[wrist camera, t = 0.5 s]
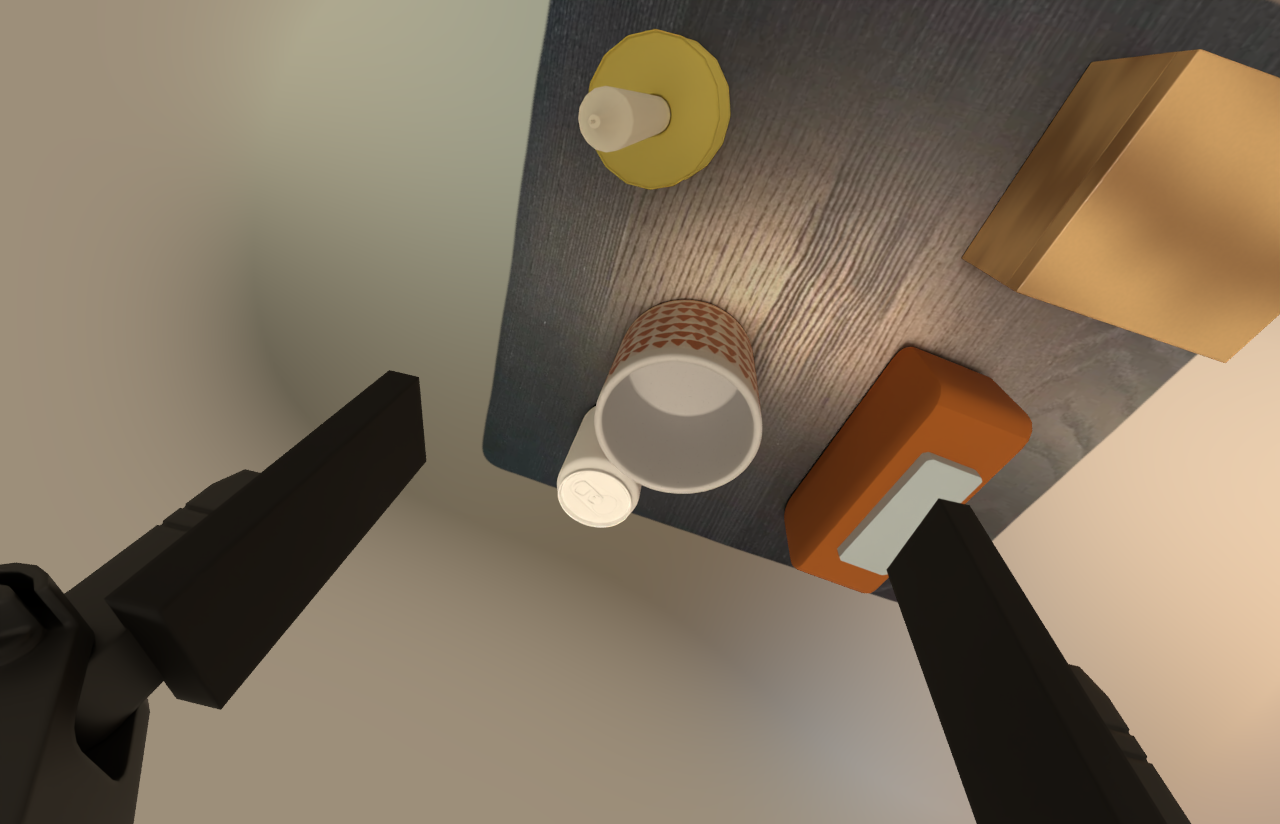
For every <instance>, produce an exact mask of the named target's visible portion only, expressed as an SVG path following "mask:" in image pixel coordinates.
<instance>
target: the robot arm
mask: <svg viewBox="0 0 1280 824" xmlns="http://www.w3.org/2000/svg"><path fill="white" fill-rule="evenodd" d="M425 462H426V452H425V441H424V429H423V419H422V407H421V395H420V384H419V377H416V376H412V375H407V374H403V373H399V372H395V371H390V370H389V371H388V372H387V373H385V374H384V375H383V376H381V377H380V378H379V379H378V380H377V381H375V382H374V383H373V384H372V385H370V386H369V387H368V388H366V389H365V390H364V391H363V392H361V393H360V394H359V395H358V396H357V397H355V398H354V399H353V400H352V401H350V402H349V403H348V404H346V405H345V406H344V407H343V408H342V409H340V410H339V411H338V412H337V413H335V414H334V415H333V416H331V417H330V418H329V419H328V420H326V421H325V422H324V423H323V424H321V425H320V426H319V427H318V428H317V429H315V430H314V431H313V432H311V433H310V434H309V435H308V436H307V437H305V438H304V439H303V440H301V441H300V442H299V443H298V444H297V445H295V446H294V447H293V448H292V449H290V450H289V451H288V452H286V453H285V454H284V455H283V456H282V457H280V458H279V459H278V460H276V461H275V462H274V463H273V464H272V465H270V466H269V467H268V468H266V469H265V470H264V471H263V472H262V473H258V472H254V471H249V470H242V471H240V472H238V473H236V474H234V475H231V476H229V477H227V478H225V479H222V480H220V481H218V482H216V483H213V484H212V485H210V486H209V487H208V488H206V489H205V490H204V491H202V492H201V493H200V494H198V495H197V496H196V497H194V498H193V499H192V500H190V501H189V502H187V503H186V506H185V507H184V508H183V509H182V508H179V509H178V510H177V511H175V512H174V513H173V514H172V515H170V516H169V517H167V518H166V519H165V520H164V521H163V524H162V525H160V526H159V525H157V526H155V527H154V528H153V529H151V530H150V531H149V532H147V533H146V534H145V535H143V536H142V537H141V538H139V539H138V540H137V541H135V542H134V543H132V544H131V545H130V546H129V547H127V548H126V549H124V550H123V551H122V552H120V553H119V554H118V555H116V556H115V557H114V558H112V559H111V560H110V561H108V562H107V563H106V564H104V565H103V566H102V567H100V568H99V569H98V570H96V571H95V572H94V573H92V574H91V575H89V576H88V577H87V578H85V579H84V580H83V581H81V582H80V583H79V584H77V585H76V586H75V587H73V588H72V589H71V590H69V591H68V592H66V593H65V594H64V593H63V592H62V591H61V590H60V588H59V587H58V586H57V585H56V583H55V582H54V581H53V580H52V578H51V577H50V576H49V575H48V574H47V573H46V572H45V571H44V570H42V569H41V568H39V567H38V566H37V565H30V564H22V563H10V564H2V565H0V824H133V823H134V816H135V809H136V802H137V795H138V788H139V781H140V774H141V768H142V761H143V755H144V748H145V741H146V734H147V727H148V720H149V713H150V710H149V703H148V699H147V697H148V696H149V695H150V694H151V693H152V692H153V691H154V690H155V689H156V688H157V687H158V686H159V685H160V684H161V683H162V682H163V681H164V682H165V683H166V685H167V686H168V688H169V689H170V690H171V691H172V693H173V694H174V696H175V697H176V698H177V699H180V700H184V701H188V702H192V703H196V704H200V705H204V706H208V707H212V708H217V709H222V708H223V706H224V705H225V704H226V703H227V702H228V700H229V699H230V698H231V697H232V696H233V694H234V693H235V692H236V690H237V689H238V688H239V687H240V686H241V685H242V683H243V682H244V681H245V680H246V679H247V677H248V676H249V675H250V674H251V673H252V671H253V670H254V669H255V668H256V666H257V665H258V664H259V663H260V662H261V661H262V659H263V658H264V657H265V656H266V654H267V653H268V652H269V651H270V650H271V648H272V647H273V646H274V645H275V644H276V642H277V641H278V640H279V639H280V637H281V636H282V635H283V634H284V633H285V631H286V630H287V629H288V628H289V627H290V625H291V624H292V623H293V622H294V621H295V619H296V618H297V617H298V616H299V614H300V613H301V612H302V611H303V610H304V608H305V607H306V606H307V605H308V604H309V602H310V601H311V600H312V599H313V598H314V596H315V595H316V594H317V593H318V592H319V590H320V589H321V588H322V587H323V586H324V584H325V583H326V582H327V581H328V579H329V578H330V577H331V576H332V575H333V573H334V572H335V571H336V570H337V569H338V567H339V566H340V565H341V564H342V562H343V561H344V560H345V559H346V558H347V556H348V555H349V554H350V553H351V552H352V550H353V549H354V548H355V547H356V545H357V544H358V543H359V542H360V540H362V538H363V537H364V536H365V535H366V534H367V532H368V531H369V530H370V529H371V527H372V526H373V525H374V524H375V523H376V521H377V520H378V519H379V518H380V516H381V515H382V514H383V513H384V512H385V511H386V509H387V508H388V507H389V506H390V504H391V503H392V502H393V501H394V500H395V498H396V497H397V496H398V495H399V494H400V492H401V491H402V490H403V489H404V487H405V486H406V485H407V484H408V483H409V481H410V480H411V479H412V478H413V476H414V475H415V474H416V473H417V472H418V471H419V469H420V468H421V467H422V466H423V465H424V463H425ZM887 573H888V576H889V579H890V582H891V584H892V587H893V590H894V593H895V596H896V598H897V601H898V604H899V607H900V609H901V612H902V615H903V618H904V621H905V624H906V626H907V629H908V632H909V635H910V638H911V640H912V643H913V646H914V649H915V651H916V655H917V657H918V660H919V663H920V666H921V669H922V671H923V674H924V677H925V680H926V682H927V685H928V688H929V691H930V694H931V697H932V699H933V702H934V705H935V708H936V711H937V713H938V716H939V719H940V722H941V725H942V727H943V730H944V733H945V736H946V739H947V741H948V744H949V747H950V750H951V753H952V756H953V758H954V761H955V764H956V766H957V770H958V772H959V775H960V778H961V781H962V784H963V786H964V789H965V792H966V795H967V798H968V800H969V803H970V806H971V809H972V812H973V814H974V817H975V820H976V823H977V824H1191V823H1190V821H1189V820H1188V818H1187V817H1186V815H1185V814H1184V812H1183V810H1182V809H1181V807H1180V806H1179V804H1178V803H1177V801H1176V800H1175V798H1174V797H1173V795H1172V794H1171V792H1170V791H1169V789H1168V788H1167V786H1166V785H1165V783H1164V781H1163V780H1162V778H1161V777H1160V775H1159V774H1158V772H1157V771H1156V769H1155V768H1154V766H1153V765H1152V764H1150V763H1148V762H1147V760H1146V758H1147V755H1146V754H1145V752H1144V751H1143V750H1142V748H1141V747H1140V745H1139V743H1138V742H1137V741H1136V739H1135V737H1134V736H1131V735H1130V734H1129V728H1128V727H1127V725H1126V723H1125V722H1124V720H1123V719H1122V717H1121V716H1120V714H1119V713H1118V711H1117V710H1116V708H1115V707H1114V705H1113V704H1112V702H1111V700H1110V699H1109V698H1108V696H1107V695H1106V694H1105V693H1104V692H1103V691H1102V690H1101V689H1100V688H1099V687H1098V686H1097V685H1096V684H1095V683H1094V682H1093V680H1092V679H1091V678H1090V677H1089V676H1088V675H1087V674H1086V673H1085V672H1084V671H1083V670H1082V669H1081V668H1080V667H1078V666H1074V665H1070V664H1068V663H1067V662H1066V660H1065V659H1064V657H1063V655H1062V653H1061V652H1060V650H1059V649H1058V647H1057V645H1056V644H1055V642H1054V640H1053V639H1052V638H1051V636H1050V634H1049V632H1048V631H1047V629H1046V628H1045V626H1044V624H1043V623H1042V621H1041V620H1040V618H1039V616H1038V615H1037V613H1036V612H1035V610H1034V609H1033V607H1032V605H1031V604H1030V602H1029V600H1028V599H1027V597H1026V596H1025V594H1024V592H1023V591H1022V589H1021V587H1020V586H1019V584H1018V583H1017V581H1016V579H1015V578H1014V576H1013V575H1012V573H1011V572H1010V570H1009V568H1008V567H1007V565H1006V563H1005V562H1004V560H1003V558H1002V557H1001V555H1000V554H999V552H998V550H997V549H996V547H995V546H994V544H993V542H992V541H991V539H990V538H989V536H988V534H987V533H986V531H985V529H984V528H983V526H982V525H981V523H980V521H979V520H978V518H977V517H976V515H975V513H974V512H973V510H972V509H971V507H970V505H966V504H961V503H957V502H953V501H948V500H944V499H940V498H938V500H937V501H936V502H935V504H934V505H933V506H932V508H931V509H930V511H929V512H928V513H927V515H926V516H925V517H924V519H923V520H922V522H921V523H920V524H919V526H918V527H917V528H916V530H915V531H914V533H913V534H912V535H911V537H910V538H909V539H908V541H907V542H906V544H905V545H904V546H903V548H902V549H901V550H900V552H899V553H898V555H897V556H896V557H895V559H894V560H893V561H892V563H891V564H890V566H889V567H888V568H887Z"/></svg>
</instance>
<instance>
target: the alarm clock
mask: <svg viewBox="0 0 1280 824" xmlns="http://www.w3.org/2000/svg"><path fill="white" fill-rule="evenodd" d="M1031 433H1032V422H1031V420H1030V418H1029V416H1028V415H1027V414H1026V413H1025V412H1024V411H1023V410H1022V409H1021V408H1020V407H1019V406H1018V405H1017V404H1016V403H1015V402H1014V401H1013V400H1012V399H1011V398H1010V397H1009V396H1008V395H1007V394H1006V393H1005V392H1004V391H1003V390H1002V389H1001V388H1000V387H999V386H998V385H997V384H996V383H995V382H994V381H993V380H992V379H991V378H989V377H987V376H985V375H982V374H980V373H977V372H975V371H972V370H970V369H967V368H965V367H962V366H960V365H957V364H955V363H952V362H950V361H947V360H945V359H942V358H940V357H937V356H935V355H932V354H930V353H927V352H925V351H922V350H920V349H917V348H915V347H907V348H904V349H902V350H901V351H899V352H898V353H897V354H896V356H895V357H894V358H893V359H892V360H891V362H890V363H889V364H888V366H887V367H886V369H885V370H884V371H883V373H882V374H881V375H880V377H879V378H878V379H877V381H876V382H875V383H874V385H873V386H872V388H871V389H870V390H869V392H868V393H867V394H866V396H865V397H864V398H863V400H862V401H861V403H860V404H859V405H858V407H857V408H856V409H855V411H854V412H853V413H852V415H851V416H850V417H849V419H848V420H847V422H846V423H845V424H844V426H843V427H842V428H841V430H840V431H839V432H838V434H837V435H836V436H835V438H834V439H833V441H832V442H831V443H830V445H829V446H828V447H827V449H826V450H825V451H824V453H823V454H822V456H821V457H820V458H819V460H818V461H817V462H816V464H815V465H814V466H813V468H812V469H811V470H810V472H809V473H808V475H807V476H806V477H805V479H804V480H803V481H802V483H801V484H800V485H799V487H798V488H797V489H796V491H795V492H794V494H793V495H792V496H791V498H790V499H789V501H788V503H787V506H786V509H785V514H784V520H785V527H786V533H787V539H788V546H789V552H790V559H791V562H792V565H793V566H794V567H795V568H796V569H797V570H800V571H803V572H805V573H808V574H811V575H814V576H817V577H819V578H822V579H825V580H828V581H831V582H833V583H836V584H839V585H842V586H844V587H847V588H850V589H853V590H856V591H859V592H861V593H871V592H873V591H875V590H876V589H877V588H878V587H879V586H880V585H881V584H882V583H883V582H884V581H885V580H886V579H887V578H888V577H889V576H888V573H887V568H888V567H889V566H890V564H891V563H892V561H893V560H894V559H895V557H896V556H897V555H898V553H899V552H900V550H901V549H902V548H903V546H904V545H905V544H906V542H907V541H908V539H909V538H910V537H911V535H912V534H913V533H914V531H915V530H916V528H917V527H918V526H919V524H920V523H921V522H922V520H923V519H924V517H925V516H926V515H927V513H928V512H929V511H930V509H931V508H932V506H933V505H934V504H935V502H936V501H937V500H938V498H940V499H944V500H948V501H953V502H957V503H961V504H965V503H966V502H967V501H968V500H969V499H970V498H971V497H973V496H974V495H975V494H976V493H977V492H978V491H979V490H980V489H981V488H982V487H983V486H984V485H985V484H986V483H987V482H988V481H989V480H990V479H991V478H992V477H993V476H994V475H995V474H996V473H997V472H999V471H1000V470H1001V469H1002V468H1003V467H1004V466H1005V465H1006V464H1007V463H1008V462H1009V461H1010V460H1011V459H1012V458H1013V457H1014V456H1015V455H1016V454H1017V453H1018V452H1019V451H1020V450H1021V449H1022V448H1023V447H1024V446H1025V444H1026V443H1027V442H1028V441H1029V438H1030V436H1031Z"/></svg>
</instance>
